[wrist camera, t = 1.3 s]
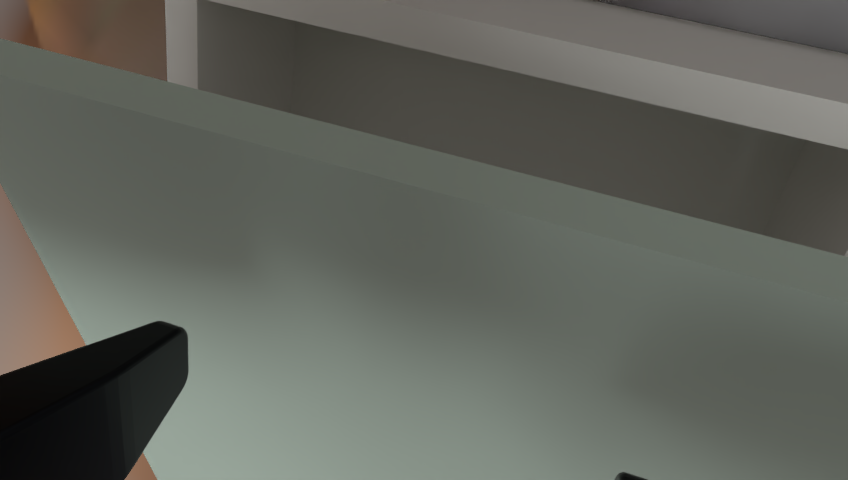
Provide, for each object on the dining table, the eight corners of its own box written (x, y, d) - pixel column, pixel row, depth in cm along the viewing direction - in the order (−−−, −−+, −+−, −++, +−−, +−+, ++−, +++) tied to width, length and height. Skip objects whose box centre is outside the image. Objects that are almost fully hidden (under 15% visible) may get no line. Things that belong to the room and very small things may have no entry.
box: (661, 489, 25) (666, 644, 20) (265, 359, 28) (179, 466, 23) (869, 58, 17) (966, 130, 12) (287, -64, 20) (163, -48, 15)
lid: (666, 647, 20) (664, 678, 19) (177, 469, 22) (164, 491, 22) (1102, 322, 8) (1128, 378, 8) (-27, 31, 11) (-67, 57, 10)
